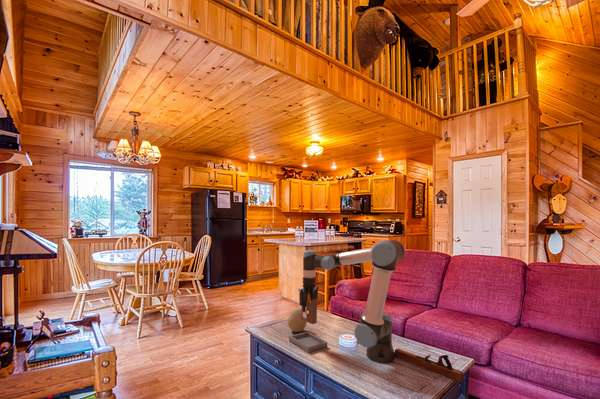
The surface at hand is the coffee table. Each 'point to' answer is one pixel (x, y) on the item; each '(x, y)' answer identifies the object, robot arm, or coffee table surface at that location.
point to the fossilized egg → (296, 320)
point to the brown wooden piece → (310, 312)
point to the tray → (308, 342)
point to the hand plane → (431, 364)
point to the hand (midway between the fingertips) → (308, 316)
